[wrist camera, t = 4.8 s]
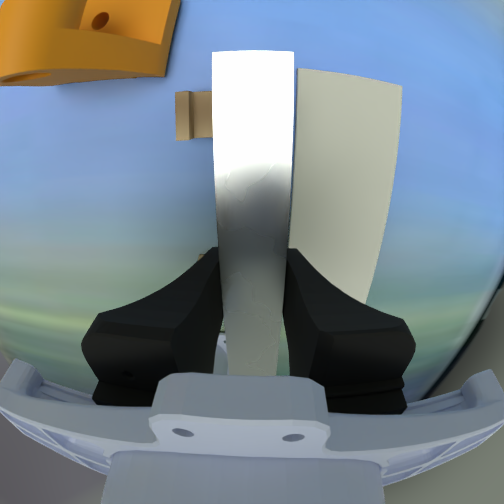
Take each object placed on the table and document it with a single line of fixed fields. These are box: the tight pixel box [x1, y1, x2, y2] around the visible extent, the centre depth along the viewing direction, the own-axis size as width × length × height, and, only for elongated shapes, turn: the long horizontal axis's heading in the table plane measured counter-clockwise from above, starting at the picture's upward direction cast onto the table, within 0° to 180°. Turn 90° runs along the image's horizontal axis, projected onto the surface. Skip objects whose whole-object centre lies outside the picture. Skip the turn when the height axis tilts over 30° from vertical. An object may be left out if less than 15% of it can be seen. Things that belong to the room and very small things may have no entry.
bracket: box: [0, 0, 180, 86], centre depth 9 cm, size 11×7×12 cm, turn 80°
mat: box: [288, 68, 402, 304], centre depth 21 cm, size 20×8×1 cm, turn 179°
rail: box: [212, 51, 294, 376], centre depth 12 cm, size 17×2×2 cm, turn 0°
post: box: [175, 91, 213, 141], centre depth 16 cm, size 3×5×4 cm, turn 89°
